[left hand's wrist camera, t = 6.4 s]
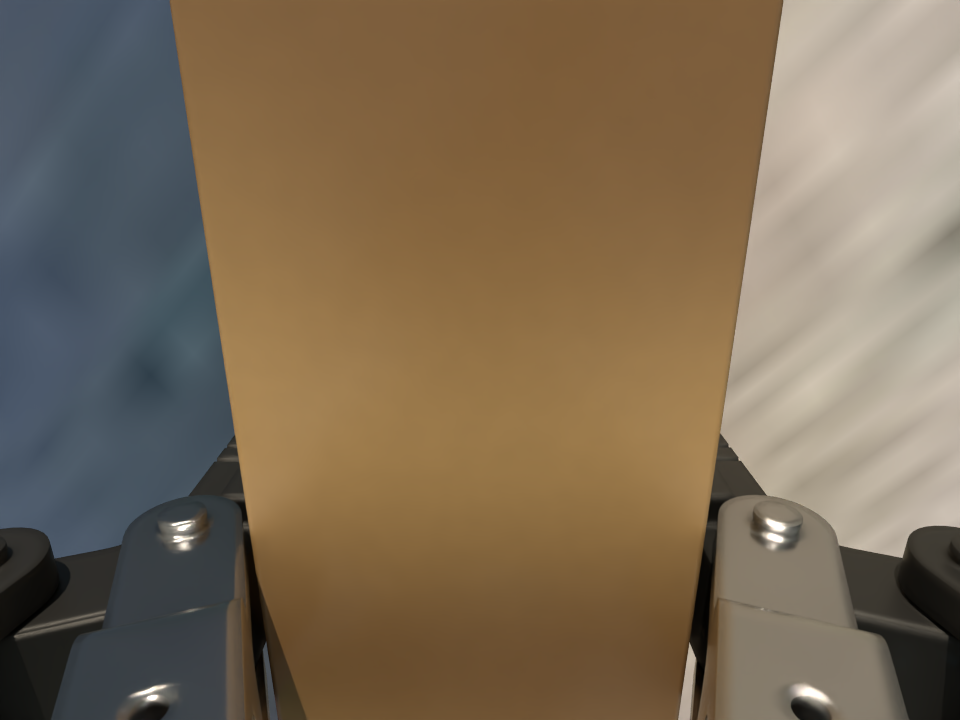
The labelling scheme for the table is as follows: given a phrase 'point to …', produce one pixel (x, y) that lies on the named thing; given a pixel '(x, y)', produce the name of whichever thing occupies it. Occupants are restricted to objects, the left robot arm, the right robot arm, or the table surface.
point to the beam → (477, 334)
